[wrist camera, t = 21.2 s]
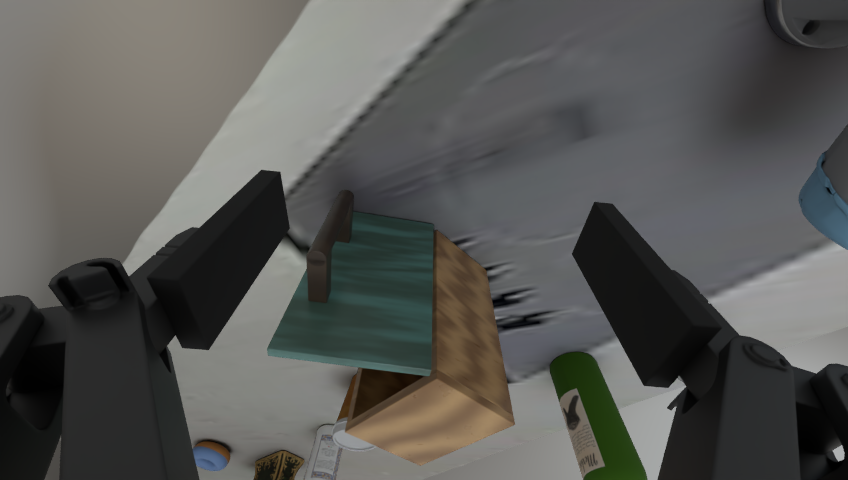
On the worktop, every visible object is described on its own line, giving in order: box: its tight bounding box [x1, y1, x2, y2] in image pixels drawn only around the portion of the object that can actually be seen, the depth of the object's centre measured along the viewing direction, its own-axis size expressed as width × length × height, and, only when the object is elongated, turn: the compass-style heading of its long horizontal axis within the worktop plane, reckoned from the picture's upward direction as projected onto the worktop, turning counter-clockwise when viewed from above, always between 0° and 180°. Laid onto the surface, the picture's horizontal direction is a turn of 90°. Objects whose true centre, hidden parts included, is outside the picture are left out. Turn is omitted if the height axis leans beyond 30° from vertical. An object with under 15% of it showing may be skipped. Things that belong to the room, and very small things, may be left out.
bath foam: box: [304, 425, 342, 480], centre depth 77 cm, size 7×7×20 cm
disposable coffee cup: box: [332, 374, 377, 451], centre depth 67 cm, size 10×10×12 cm
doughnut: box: [193, 441, 230, 471], centre depth 90 cm, size 10×10×5 cm
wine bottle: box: [550, 352, 647, 480], centre depth 53 cm, size 9×9×32 cm
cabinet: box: [345, 230, 515, 466], centre depth 44 cm, size 11×14×24 cm
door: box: [267, 190, 434, 376], centre depth 37 cm, size 7×14×24 cm, turn 80°
